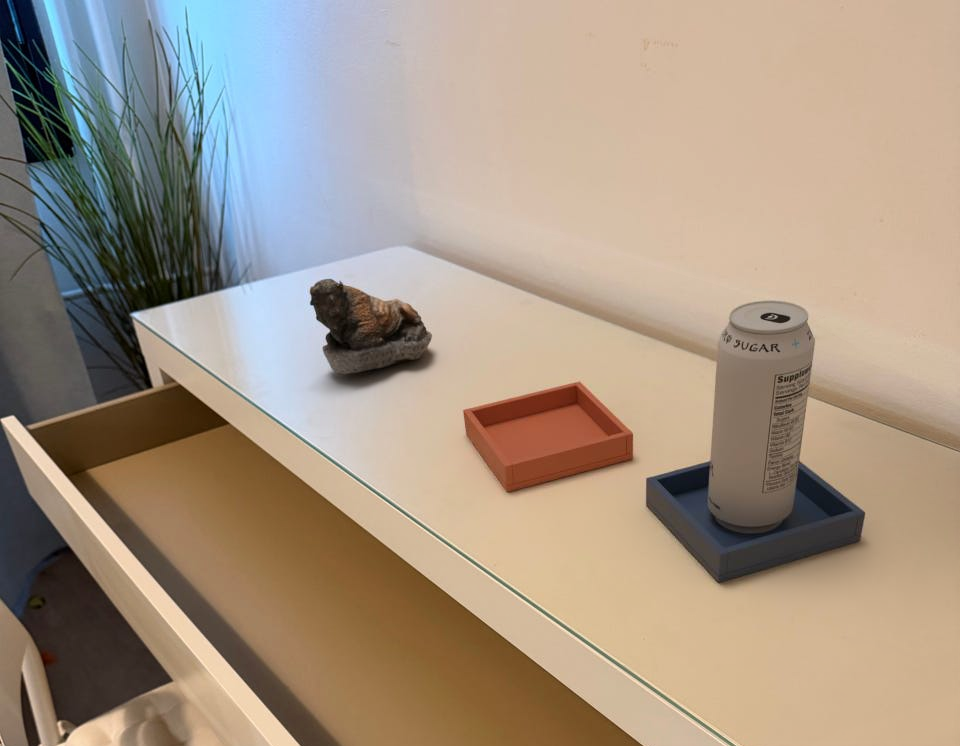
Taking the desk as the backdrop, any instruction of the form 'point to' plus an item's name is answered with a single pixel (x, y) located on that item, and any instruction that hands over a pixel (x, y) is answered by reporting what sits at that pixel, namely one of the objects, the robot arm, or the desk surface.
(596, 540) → the desk surface
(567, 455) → the terracotta tray
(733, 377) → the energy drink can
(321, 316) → the bison figurine
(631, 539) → the desk surface
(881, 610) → the desk surface
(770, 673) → the desk surface
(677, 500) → the slate tray
